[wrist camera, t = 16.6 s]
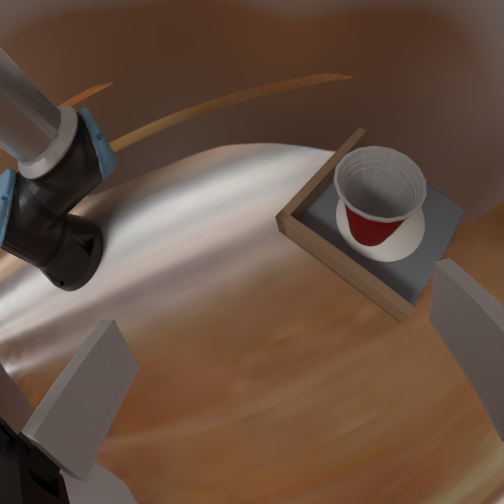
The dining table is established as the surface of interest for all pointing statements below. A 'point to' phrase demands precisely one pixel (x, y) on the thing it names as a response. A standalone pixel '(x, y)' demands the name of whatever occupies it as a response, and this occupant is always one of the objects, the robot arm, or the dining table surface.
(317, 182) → the tray
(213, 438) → the dining table surface
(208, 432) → the dining table surface
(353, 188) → the plastic cup
